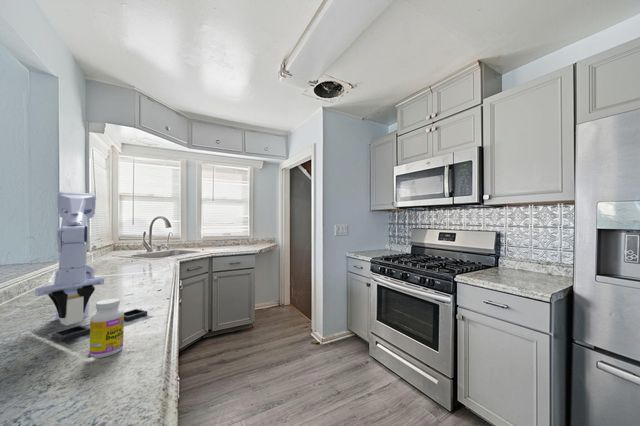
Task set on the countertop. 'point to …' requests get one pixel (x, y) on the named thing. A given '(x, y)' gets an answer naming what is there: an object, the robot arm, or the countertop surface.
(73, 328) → the panel
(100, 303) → the supplement bottle
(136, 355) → the countertop surface
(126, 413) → the countertop surface
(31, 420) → the countertop surface
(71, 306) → the white rectangular block
